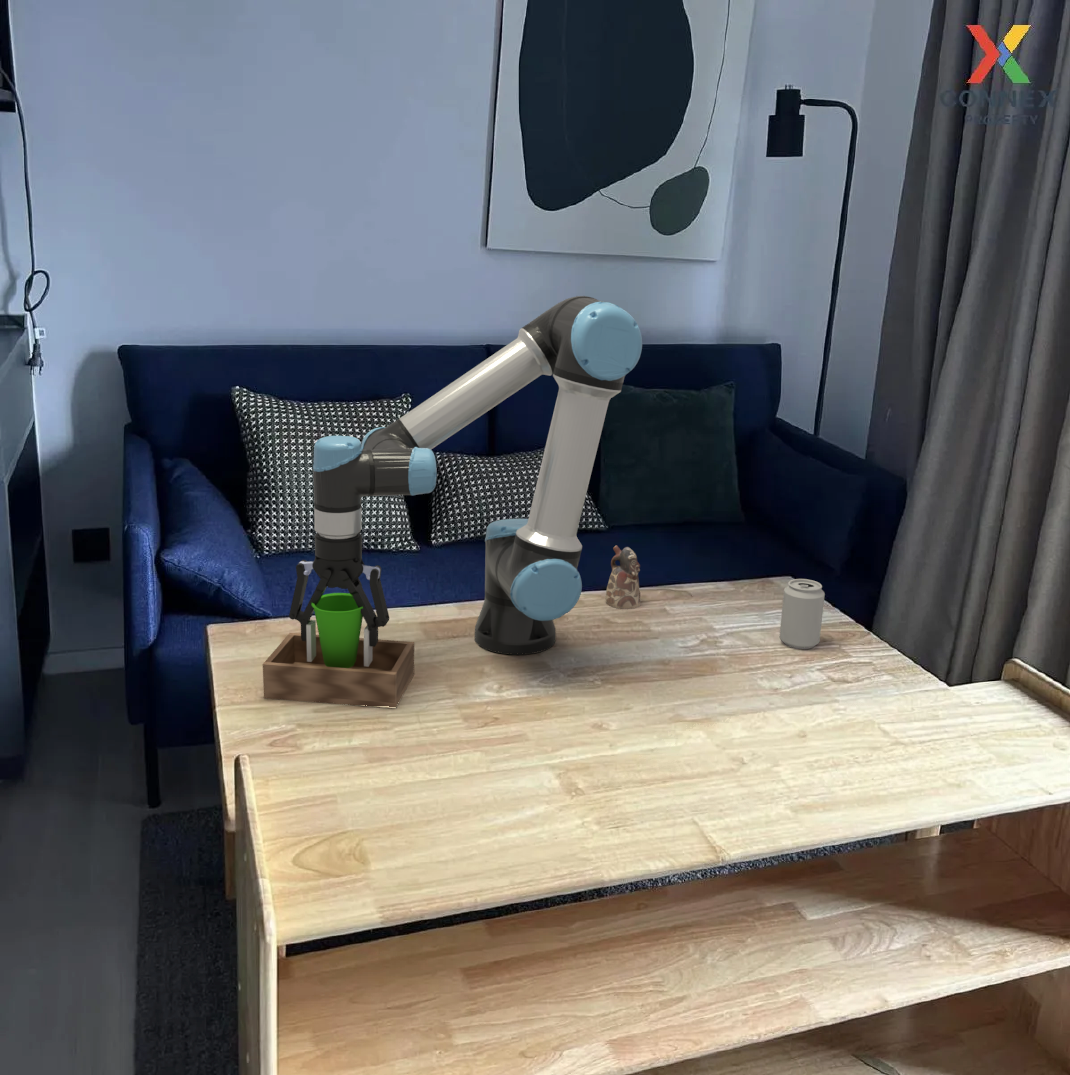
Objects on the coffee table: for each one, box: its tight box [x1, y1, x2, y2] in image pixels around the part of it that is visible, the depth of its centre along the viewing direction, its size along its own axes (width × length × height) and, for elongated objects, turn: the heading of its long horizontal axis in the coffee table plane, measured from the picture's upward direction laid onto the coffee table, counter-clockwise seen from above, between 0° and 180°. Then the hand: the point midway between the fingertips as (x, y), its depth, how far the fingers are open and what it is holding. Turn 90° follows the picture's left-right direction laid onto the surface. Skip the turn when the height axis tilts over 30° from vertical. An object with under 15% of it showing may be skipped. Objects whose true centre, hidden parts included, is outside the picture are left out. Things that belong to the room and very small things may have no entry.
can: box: [778, 578, 826, 650], centre depth 222 cm, size 8×8×12 cm
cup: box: [311, 592, 364, 668], centre depth 196 cm, size 9×9×11 cm
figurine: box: [605, 545, 641, 610], centre depth 240 cm, size 7×7×12 cm
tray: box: [262, 632, 415, 708], centre depth 198 cm, size 22×14×6 cm, turn 83°
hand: (339, 660), depth 198 cm, fingers closed on cup, 9 cm apart
